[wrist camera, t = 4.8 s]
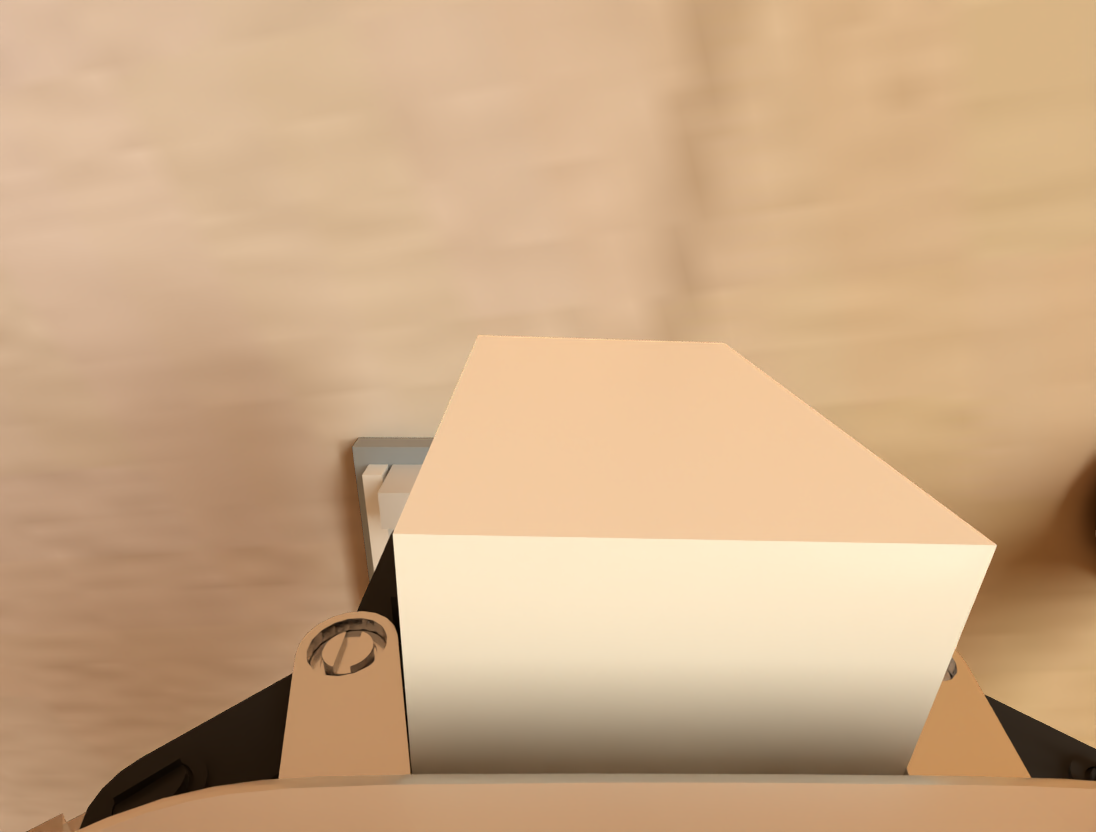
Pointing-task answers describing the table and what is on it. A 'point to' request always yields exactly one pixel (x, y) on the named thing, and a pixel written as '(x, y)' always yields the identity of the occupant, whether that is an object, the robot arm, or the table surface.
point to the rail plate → (381, 455)
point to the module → (666, 573)
